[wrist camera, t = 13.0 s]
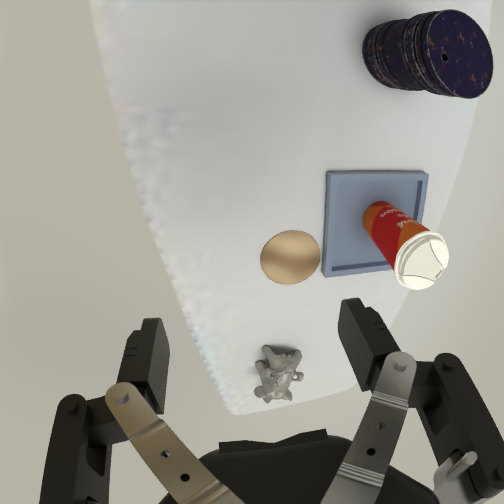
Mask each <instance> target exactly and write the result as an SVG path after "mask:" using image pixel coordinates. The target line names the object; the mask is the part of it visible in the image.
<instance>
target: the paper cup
mask: <svg viewBox="0 0 504 504" xmlns="http://www.w3.org/2000/svg"><path fill="white" fill-rule="evenodd" d="M363 226H364V228H365V230H366V232H367V233H368V235H369V236H370V238H371V239H372V240H373V242H374V243H375V245H376V246H377V247H378V249H379V250H380V252H381V253H382V254H383V256H384V257H385V259H386V260H387V262H388V263H389V264H390V266H391V267H392V269H393V270H394V272H395V276H396V279H397V281H398V282H399V283H400V284H401V285H403V286H405V287H408V288H411V289H414V290H421V289H425V288H427V287H429V286H431V285H432V284H434V283H435V282H434V281H435V280H436V279H438V278H439V277H440V275H441V274H442V273H443V272H442V271H443V270H444V268H446V266H447V264H448V259H449V254H448V249H447V247H446V243H445V240H444V239H443V237H442V236H441V235H440V234H438V233H436V232H433V231H430V230H428V229H427V228H426V227H424V226H423V225H421V224H420V223H418V222H417V221H416V220H414V219H413V218H411V217H410V216H408V215H407V214H405V213H404V212H402V211H401V210H399V209H398V208H396V207H394V206H393V205H391V204H389V203H387V202H384V201H378V202H375V203H373V204H371V205H370V206H369V207H368V208H367V209H366V211H365V213H364V215H363Z"/></svg>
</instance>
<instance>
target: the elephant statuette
mask: <svg viewBox="0 0 504 504" xmlns="http://www.w3.org/2000/svg"><path fill="white" fill-rule="evenodd" d="M262 351H263V354H264V355H265V356H266V357H267V358H268V360H269V362H270V368H268V367H267V366H266V365H265V364H264V363H263V362H262V361H259V362H257V363H256V368H257V369H259V372H260V376H261V379H262V384H263V385H262V386H258V387H256V388H255V390H254V393H255V395H256V396H257V397H259V398H263V399H264V401H265V402H266V403H269V402H270V401H271V400H272V399H281V398H282V399H285V400H290V401H291V400H292V394H291V392H290V390H288V387H289V385H290V383H291V381H301V380H302V379H303V376H304V374H303V373H302V372H296V370H295V369H296V368H297V366H298V364H299V363H300V361H301V358H302V355H301V353H300V352H299V351H295V352H294V355H293V357H292V356H291V355H290V354H289V355H287V357H286V355H285V354H281V355H276V354H275V353H274V352H272V350H271V349H270V347H269V346H265V347H264V348H263V350H262ZM295 374H296V375H297V377H298V378H297V379H293V376H295ZM267 397H268V399H267Z"/></svg>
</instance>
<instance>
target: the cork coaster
mask: <svg viewBox="0 0 504 504" xmlns="http://www.w3.org/2000/svg"><path fill="white" fill-rule="evenodd" d="M319 262H320V249H319V246H318V244H317V242H316V241H315V240H314V239H313V238H312V237H311V236H310V235H308V234H307V233H304V232H301V231H286V232H282V233H280V234H278V235H276V236H274V237H273V238H272V239H270V240H269V241H268V243H267V244H266V245H265V247H264V248H263V251H262V254H261V266H262V269H263V272H264V273H265V275H266V276H267V277H268V278H269V279H270V280H272V281H273V282H276V283H279V284H283V285H291V284H296V283H299V282H302V281H304V280H306V279H307V278H308V277H310V276H311V275H312V274H313V273H314V272H315V270H316V269H317V267H318V265H319Z"/></svg>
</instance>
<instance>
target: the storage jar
mask: <svg viewBox="0 0 504 504" xmlns="http://www.w3.org/2000/svg"><path fill="white" fill-rule="evenodd" d="M362 51H363V59H364V62H365V65H366V67H367V69H368V70H369V72H370V73H371V75H372V76H373V77H374V78H375V79H376V80H377V81H378V82H380V83H381V84H383V85H385V86H387V87H390V88H398V89H401V90H408V91H414V90H415V91H421V90H426V91H428V92H431V93H433V94H438V95H444V96H450V97H461V98H466V99H472V98H476V97H478V96H480V95H481V94H483V93H484V92H485V91H486V89H487V88H488V86H489V84H490V82H491V79H492V75H493V56H492V51H491V47H490V44H489V42H488V40H487V37H486V35H485V34H484V32H483V30H482V29H481V28H480V26H479V25H478V24H477V23H476V22H475V21H474V20H473V19H472V18H471V17H470V16H468V15H467V14H465V13H463V12H461V11H458V10H452V9H448V10H443V11H433V12H428V13H423V14H418V15H416V16H414V17H412V18H410V19H400V20H393V21H390V22H386V23H384V24H381V25H378V26H376V27H374V28H372V29H371V30H370V31H369V32H368V33H367V35H366V37H365V39H364V42H363V48H362Z"/></svg>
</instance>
